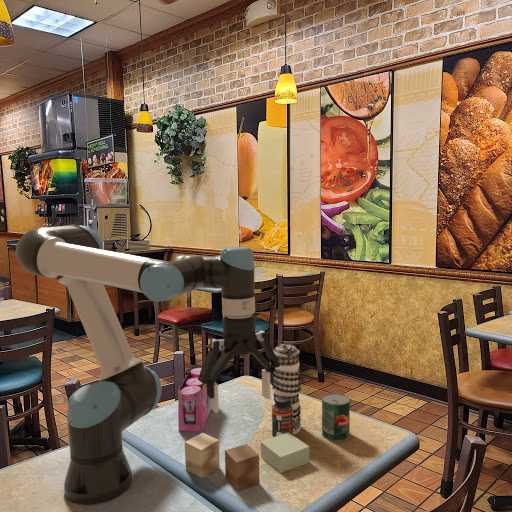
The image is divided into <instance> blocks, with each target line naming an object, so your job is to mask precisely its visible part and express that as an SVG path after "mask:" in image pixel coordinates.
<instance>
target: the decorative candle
mask: <svg viewBox="0 0 512 512" xmlns="http://www.w3.org/2000/svg"><path fill="white" fill-rule="evenodd" d="M273 351H274V353H275V355H276V357H277V359H278V361H279V363H280V366H279V367H278V368H277V367H276V368H275V369H276V370H275V372H273V383H272V384H270V386H272V387H271V392H272V394H273V395H272V396H273V399H272V405H271V407H273V405H274V404H275V398H276V397H278V396H286V397H288V398H289V404H290V405H291V406H292V408H293V435H297V434H298V433H300V431H301V430H302V427H301V425H302V423H301V422H302V421H301V420H302V418H301V414H302V413H301V409H302V407H301V404H300V393H301V390H302V388H301V385H302V383H301V381H300V380H301V379H302V378H303V377H302V375H301V374H302V370H301V369H300V360H299V354H300V353H301V352H300V349H297V347H296V346H295V345H293V344H290V343H289V344H288V343H283V344H282V343H281V344H278V345H277V346H276V347H275V348H274V349H273Z"/></svg>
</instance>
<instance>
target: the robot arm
mask: <svg viewBox="0 0 512 512" xmlns="http://www.w3.org/2000/svg"><path fill="white" fill-rule="evenodd" d="M15 256H16V260H17V262H18V264H19V265H20V267H21V268H22V269H23V270H25V271H26V272H27V273H29V274H32V275H36V276H39V277H40V276H41V277H42V278H43V277H44V278H49V279H53V278H56V280H57V282H58V284H60V285H61V284H62V285H64V286H66V287H67V290H68V293H69V295H70V297H71V300H72V301H73V304H74V307H75V309H76V312H77V314H78V316H79V319H80V322H81V324H82V326H83V329H84V331H85V333H86V336H87V338H88V340H89V344H90V345H91V348H92V350H93V353H94V355H95V358H96V360H97V362H98V364H99V368H100V370H101V373H100V375H99V378H98V381H96V382H93V383H89V384H86V385H84V386H82V387H80V388H78V389H77V390H75V391H74V392H73V393H72V394H71V396H70V397H69V398H68V402H67V413H66V419H67V428H68V429H67V430H68V441H69V452H70V453H69V454H70V455H69V456H70V459H69V464H68V467H67V468H68V469H67V471H66V476H65V479H64V484H63V488H64V497H65V499H67V501H69V502H70V503H72V504H75V505H81V506H93V505H99V504H103V503H108V502H110V501H113V500H115V499H116V498H119V497H120V496H122V495H123V494H125V493H126V492H127V491H128V490H129V488H130V487H131V485H132V481H133V477H132V476H133V475H132V474H133V473H132V472H133V471H132V469H131V465H130V464H129V461H128V459H127V457H126V454H125V452H124V447H123V446H124V445H123V431H124V430H126V429H128V428H129V427H130V426H132V425H133V424H134V423H136V422H137V421H139V420H140V419H141V418H142V417H145V416H148V414H149V413H151V412H152V410H153V409H154V408H155V407H156V406H157V405H158V404H159V402H160V399H161V396H162V382H161V380H160V377H159V375H158V373H156V371H155V370H152V368H150V367H147V366H145V365H144V362H143V360H142V359H141V358H138V357H136V356H134V354H133V352H132V349H131V347H130V345H129V341H128V340H127V337H126V335H125V333H124V332H125V331H124V330H123V328H122V326H121V323H120V321H119V318H118V316H117V314H116V311H115V309H114V306H113V303H112V302H111V299H110V297H109V294H108V292H107V290H106V287H105V286H108V287H114V288H119V289H124V290H129V291H133V292H139V293H142V294H143V295H144V296H145V297H146V298H148V299H149V300H150V301H152V302H164V301H166V302H167V301H170V300H173V299H175V298H177V297H179V296H181V295H185V294H188V293H190V292H192V291H196V290H198V289H206V288H207V289H220V290H221V307H222V309H221V312H222V315H223V317H222V332H223V337H222V338H221V339H216V338H211V339H210V341H209V349H208V352H207V354H206V357H205V360H204V362H203V365H202V366H203V367H202V369H201V372H200V374H199V377H198V380H199V381H200V382H201V383H203V384H206V385H207V396H208V397H209V398H210V399H211V411H213V412H214V413H215V414H217V413H220V412H219V411H220V408H219V407H220V405H219V404H220V403H219V401H220V400H219V384H218V383H217V380H218V379H219V378H220V376H221V374H222V373H223V371H224V369H225V368H226V367H227V365H228V363H229V362H230V360H232V359H233V358H234V357H240V356H241V355H244V356H245V355H249V353H250V354H251V355H252V356H253V357H254V358H255V359H256V360H257V361H258V363H260V364H261V366H262V367H263V368H264V369H261V396H262V397H263V398H265V399H267V400H271V399H272V397H271V395H272V394H271V392H272V389H271V384H272V383H273V378H274V377H273V373H274V372H275V370H276V369H275V368H276V367H277V368H278V367H279V366H280V363H279V361H278V359H277V357H276V355H275V353H274V351H273V350H274V349H273V347H272V345H271V343H270V341H269V334H268V332H266V331H264V330H262V329H259V330H258V332H256V330H257V329H256V328H257V327H256V325H257V324H256V321H257V320H256V316H255V312H256V296H255V295H256V294H255V269H256V267H255V266H256V265H255V260H254V259H255V258H254V251H253V249H252V248H250V247H248V246H229V247H224V248H222V249H221V250H220V254H219V255H194V254H186V255H185V254H184V255H178V256H177V257H175V260H170V261H169V260H168V261H167V260H162V259H156V258H155V259H154V258H150V257H145V256H139V255H133V254H128V253H122V252H118V251H116V252H115V251H111V250H105V249H104V246H103V242H102V239H101V237H100V236H99V234H98V233H97V232H96V231H94V230H93V228H91V227H88V226H86V225H77V224H68V225H62V226H47V227H46V226H43V227H36V228H33V229H31V230H29V231H27V232H25V233H24V234H23V235H22V236H21V237H20V238H19V240H18V242H17V244H16V248H15ZM257 341H259V343H260V345H261V347H262V349H263V351H264V353H265V355H266V357H267V359H268V360H267V359H266V357H265V356H264V355H263V354H262V353H261V352H260V351H259V349H258V348H257V347H256V346H255V343H256V342H257ZM222 346H223V347H224V348H223V350H221V349H222ZM220 350H221V353H220V356H219V357H218V355H219V352H220ZM217 358H218V359H217ZM273 384H274V383H273Z"/></svg>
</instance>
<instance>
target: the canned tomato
mask: <svg viewBox="0 0 512 512" xmlns="http://www.w3.org/2000/svg"><path fill="white" fill-rule="evenodd" d="M350 402H351V399H350V397H349V396H347V395H346V394H343V393H339V392H331V393H330V392H329V393H327V394H326V393H325V394H324V395H322V397H321V436H322V437H323V438H324V439H325V440H327V441H330V442H344V441H347V440H349V438H350V430H351V429H350V428H351V427H350V419H351V418H350V415H351V414H350V410H351V409H350V408H351V403H350Z"/></svg>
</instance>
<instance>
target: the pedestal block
mask: <svg viewBox="0 0 512 512" xmlns="http://www.w3.org/2000/svg"><path fill="white" fill-rule="evenodd" d="M260 458H261V459H262V460H263V461H265V463H267V464H268V465H270V466H271V467H272V468H274V469H275V470H276V471H277V472H279V474H282V473H284V472H288V471H291V470H293V469H295V468H299V467H301V466H303V465H306V464H309V463H310V446H309V445H308V444H307V443H305V442H304V441H302V440H300V439H299V438H297V437H296V436H295V435H294V434H293V435H292V434H290V433H289V432H288V433H285V434H282V435H279V436H276V437H273V436H272V437H271V438H267V439H265V440H261V441H260Z"/></svg>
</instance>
